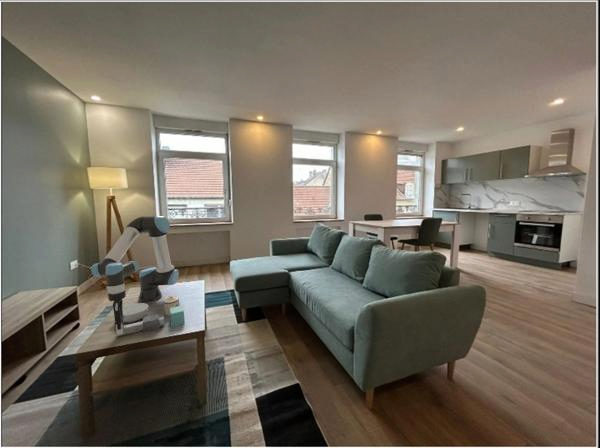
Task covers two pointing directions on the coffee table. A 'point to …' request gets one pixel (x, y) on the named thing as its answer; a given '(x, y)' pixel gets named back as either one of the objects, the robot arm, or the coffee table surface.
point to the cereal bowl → (134, 312)
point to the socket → (177, 316)
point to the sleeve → (151, 323)
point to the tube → (135, 326)
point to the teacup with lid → (170, 304)
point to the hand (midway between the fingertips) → (120, 332)
